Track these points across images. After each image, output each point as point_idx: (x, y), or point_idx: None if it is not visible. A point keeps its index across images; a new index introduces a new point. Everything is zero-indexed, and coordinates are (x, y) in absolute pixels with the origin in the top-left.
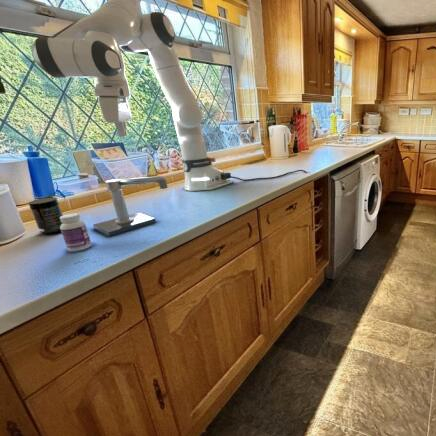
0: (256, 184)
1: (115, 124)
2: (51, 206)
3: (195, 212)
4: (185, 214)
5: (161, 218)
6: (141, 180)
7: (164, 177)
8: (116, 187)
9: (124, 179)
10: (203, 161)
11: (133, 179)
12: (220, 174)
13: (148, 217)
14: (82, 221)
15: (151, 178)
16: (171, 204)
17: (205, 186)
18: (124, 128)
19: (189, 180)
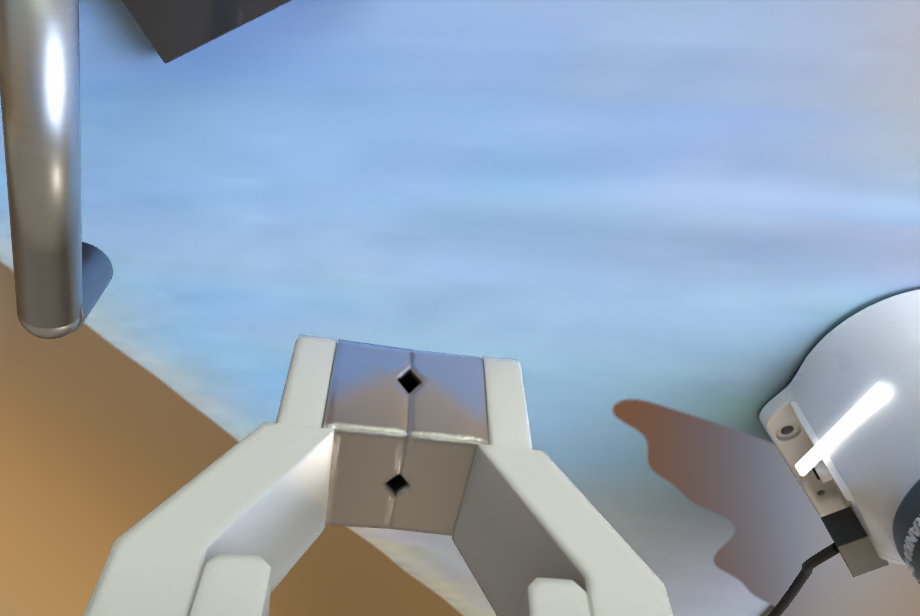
0: (669, 590)
1: (105, 592)
2: None
3: (282, 281)
4: (269, 230)
5: (254, 92)
6: (6, 160)
7: (45, 337)
8: None
9: (6, 6)
10: (915, 569)
11: (4, 96)
12: (866, 533)
13: (205, 22)
14: None
15: (13, 249)
16: (582, 173)
17: (795, 408)
18: (487, 569)
19: (907, 368)
